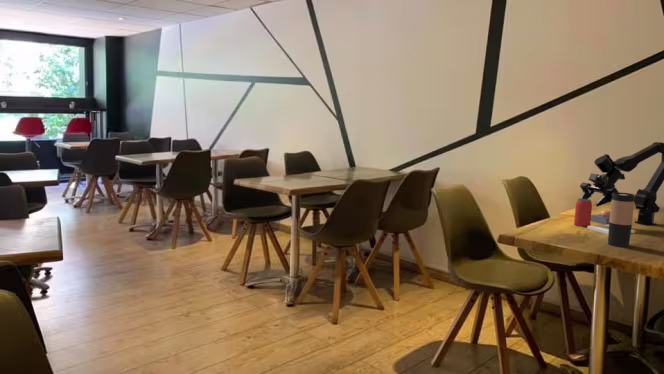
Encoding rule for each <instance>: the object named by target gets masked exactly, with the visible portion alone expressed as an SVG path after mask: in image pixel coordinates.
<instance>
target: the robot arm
mask: <svg viewBox="0 0 664 374" xmlns="http://www.w3.org/2000/svg"><path fill="white" fill-rule="evenodd" d="M656 154H661V161H660V163H659V165H658V167H657V168H656V169H655V171H654V173H653V175H652V176H651V178H650V179H649V181H648V183H647V184H646V186H645V188H643V189H640V188H638V190H637V191H636V193H635V194H634V195H635V198H634V206H635V209H636V210H638V215H637V220H635V221H634V223H637V224H641V225H646V226H649V225H657V222H654V221H655V213H659V211H660V209H661V208H660V206H659V205H658V204H657V203H656V201H657V197H658V196H657V194H658V193H657V192H658V191H659V190H660V188H661V186H662V184H663V183H664V142H662V141H659V142H658V141H655V142H653V143H651V144H650V145H648V146H647V147H645V148H642V149H640V150H638V151H637V152H635V153H633V154H631V155H627V156H626V155H625V156H623V157H620V158H617V159H615V160H613V159H612V158H611V156H610V155H609V154H606V153H605V154H603V155H602V156H599V157H597V158H596V159H595V160H594V165H596V167H597V168H598V170H600V172H601V173H602V174H598V173H592V172H591V173H590V175H589V177H588V179H587V180H588V181H591V182H592V184H591V183H590V182H581V183H580V184H579V187H580V189H581V191H582V192H581V196H580V199H589V198H591V197H592V195H594V194H595V193H599V194H602V196H601V197H600V199H598V200H597V203H595V207H600V206H602V205H605V204H608V203H611V202H612V193H615V192H619V191H618V189H617V188H616V185H615V184H616V183H617V182H618V181H619V180H620V181H621V180H622V181H624V180H625V179H626V176H625V173H622V172H626V173H629V172H630V173H631V171H633V170H635V168H636V167H638V165H639V164H640V163H643V162H644V161H645V160H647V159H649V158H651V157H653V156H654V155H656ZM592 185H593V186H592Z"/></svg>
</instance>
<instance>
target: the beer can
mask: <svg viewBox="0 0 664 374" xmlns="http://www.w3.org/2000/svg"><path fill="white" fill-rule="evenodd" d="M592 207H593V203H592V200H591V199H589V198H588V199H581V198H577V201H576V202H575V211H574V213H575V214H574V221H573V223H574V225H575V226H578V227H584V228H585V227H587V226H591V222H592V221H591V215H592V210H593V209H592Z"/></svg>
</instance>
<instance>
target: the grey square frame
mask: <svg viewBox="0 0 664 374" xmlns="http://www.w3.org/2000/svg"><path fill="white" fill-rule="evenodd" d="M609 220H610V217H603V216H601V213H595V214H591V222H593V223H599V224H600V225H609Z"/></svg>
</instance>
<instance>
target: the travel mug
mask: <svg viewBox="0 0 664 374" xmlns="http://www.w3.org/2000/svg"><path fill="white" fill-rule="evenodd" d="M635 195H636V194H633V193H629V192H619V191H618V192H615V193H612V201H611V202H610V210H609V211H610V220H609V234H607V244H608V245H610V246H613V247H617V248H618V247H619V248H628V247H629V245H630V240H631V234H632V233H631V229H632V226H633V218H634V206H635V203H634V198H635Z"/></svg>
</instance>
